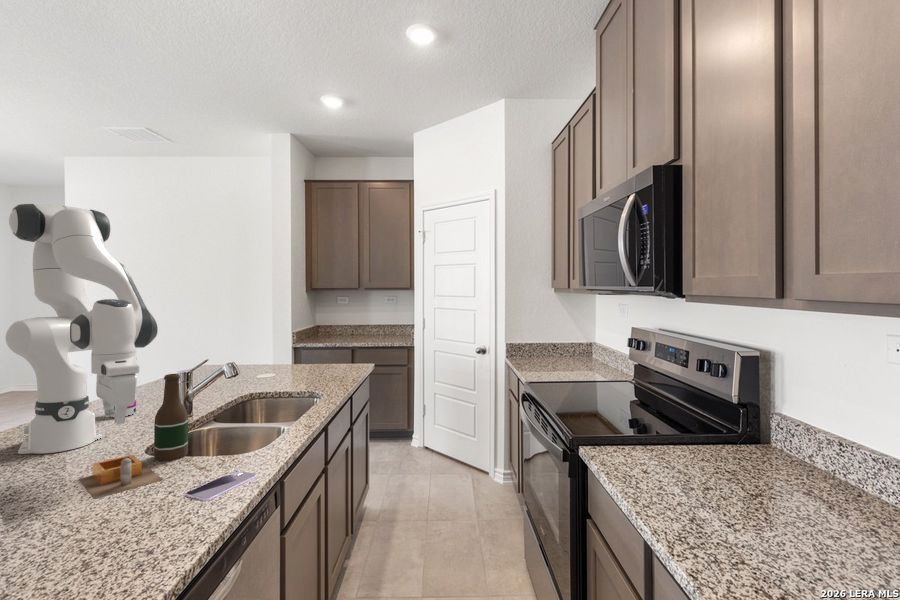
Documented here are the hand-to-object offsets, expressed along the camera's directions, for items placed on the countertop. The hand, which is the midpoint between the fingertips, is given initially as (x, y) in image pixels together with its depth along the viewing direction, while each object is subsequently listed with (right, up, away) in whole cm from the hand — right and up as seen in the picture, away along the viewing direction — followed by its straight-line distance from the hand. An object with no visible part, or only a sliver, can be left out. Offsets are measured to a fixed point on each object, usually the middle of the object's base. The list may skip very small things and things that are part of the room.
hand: (114, 419), depth 107 cm
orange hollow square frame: (+2, -13, -2) cm, 13 cm away
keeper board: (+5, -15, -4) cm, 16 cm away
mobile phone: (+29, -15, -3) cm, 33 cm away
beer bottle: (+7, -15, +11) cm, 20 cm away
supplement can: (-41, -14, +55) cm, 70 cm away
